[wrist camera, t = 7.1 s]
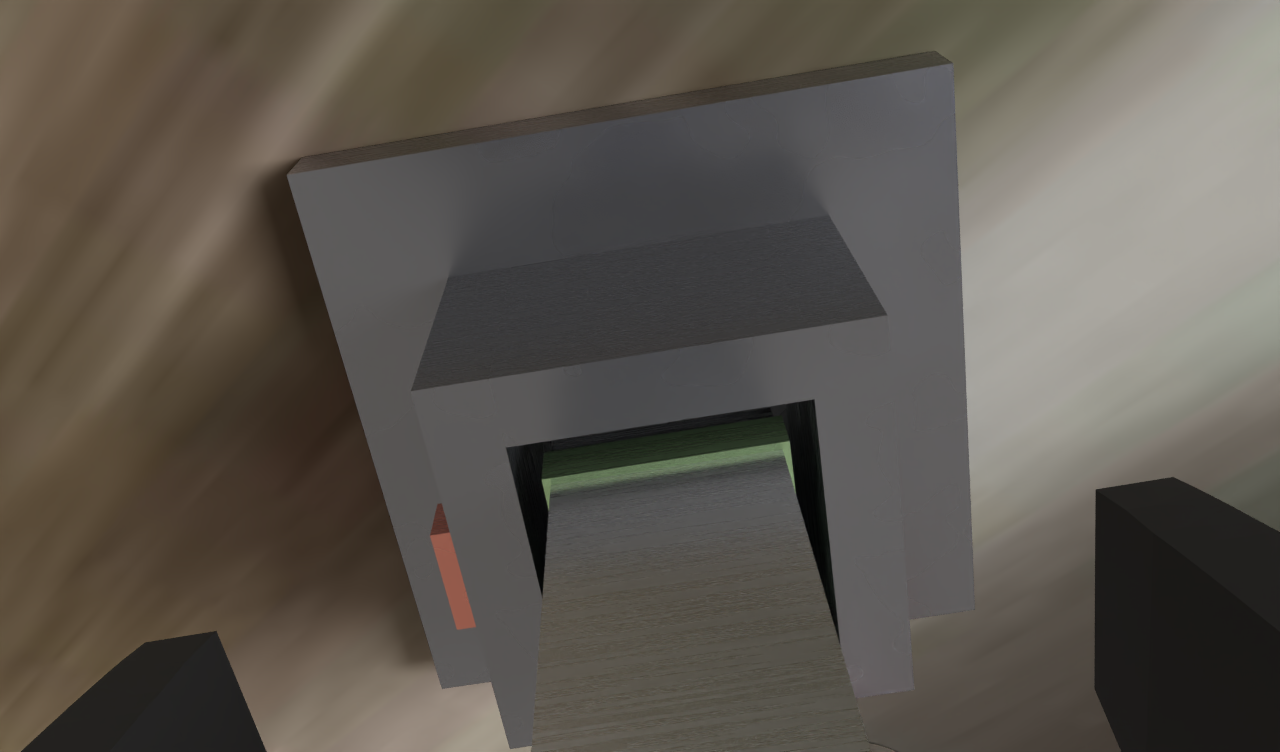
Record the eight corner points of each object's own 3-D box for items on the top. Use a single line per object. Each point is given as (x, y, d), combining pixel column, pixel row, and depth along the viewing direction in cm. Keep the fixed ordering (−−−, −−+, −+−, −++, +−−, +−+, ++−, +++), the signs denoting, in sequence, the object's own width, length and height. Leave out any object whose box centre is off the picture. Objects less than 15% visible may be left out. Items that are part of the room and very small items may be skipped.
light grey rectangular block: (776, 400, 16) (940, 930, 8) (799, 590, 17) (958, 1193, 10) (545, 436, 16) (496, 993, 8) (586, 622, 17) (578, 1240, 10)
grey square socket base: (934, 51, 18) (1050, 129, 13) (959, 577, 22) (1052, 771, 18) (302, 157, 18) (203, 268, 14) (448, 654, 22) (410, 862, 18)
